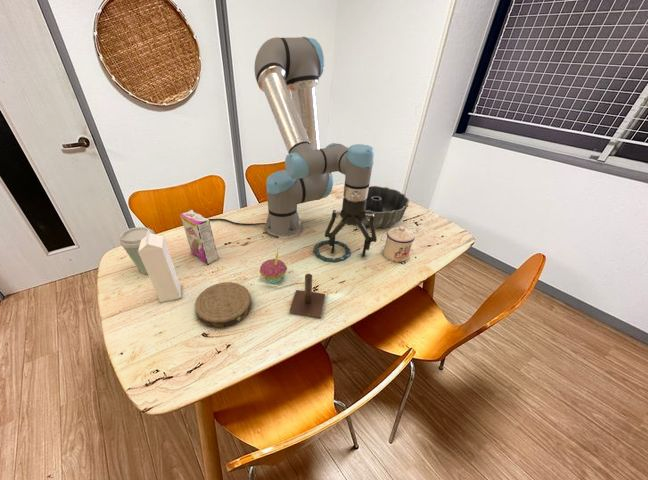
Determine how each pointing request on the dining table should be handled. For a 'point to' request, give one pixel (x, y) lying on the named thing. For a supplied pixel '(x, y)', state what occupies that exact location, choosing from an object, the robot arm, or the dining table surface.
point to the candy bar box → (199, 236)
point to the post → (308, 301)
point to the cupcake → (273, 270)
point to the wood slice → (223, 305)
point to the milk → (159, 267)
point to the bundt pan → (385, 206)
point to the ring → (331, 258)
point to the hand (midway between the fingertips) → (347, 254)
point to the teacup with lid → (398, 244)
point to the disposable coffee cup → (134, 244)
